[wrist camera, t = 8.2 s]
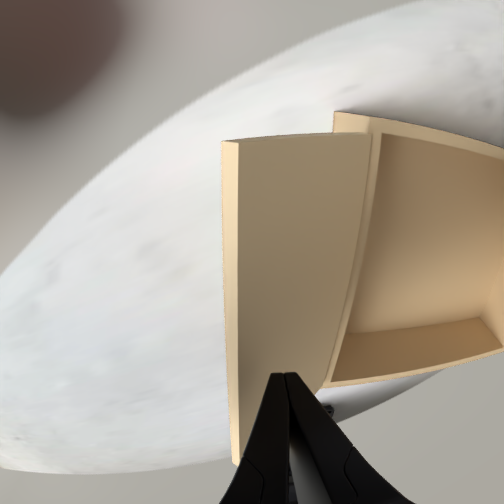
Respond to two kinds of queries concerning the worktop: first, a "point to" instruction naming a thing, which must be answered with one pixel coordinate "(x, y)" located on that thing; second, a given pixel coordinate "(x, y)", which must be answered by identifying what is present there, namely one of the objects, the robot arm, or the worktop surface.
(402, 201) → the carton
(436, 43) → the worktop surface
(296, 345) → the flap
